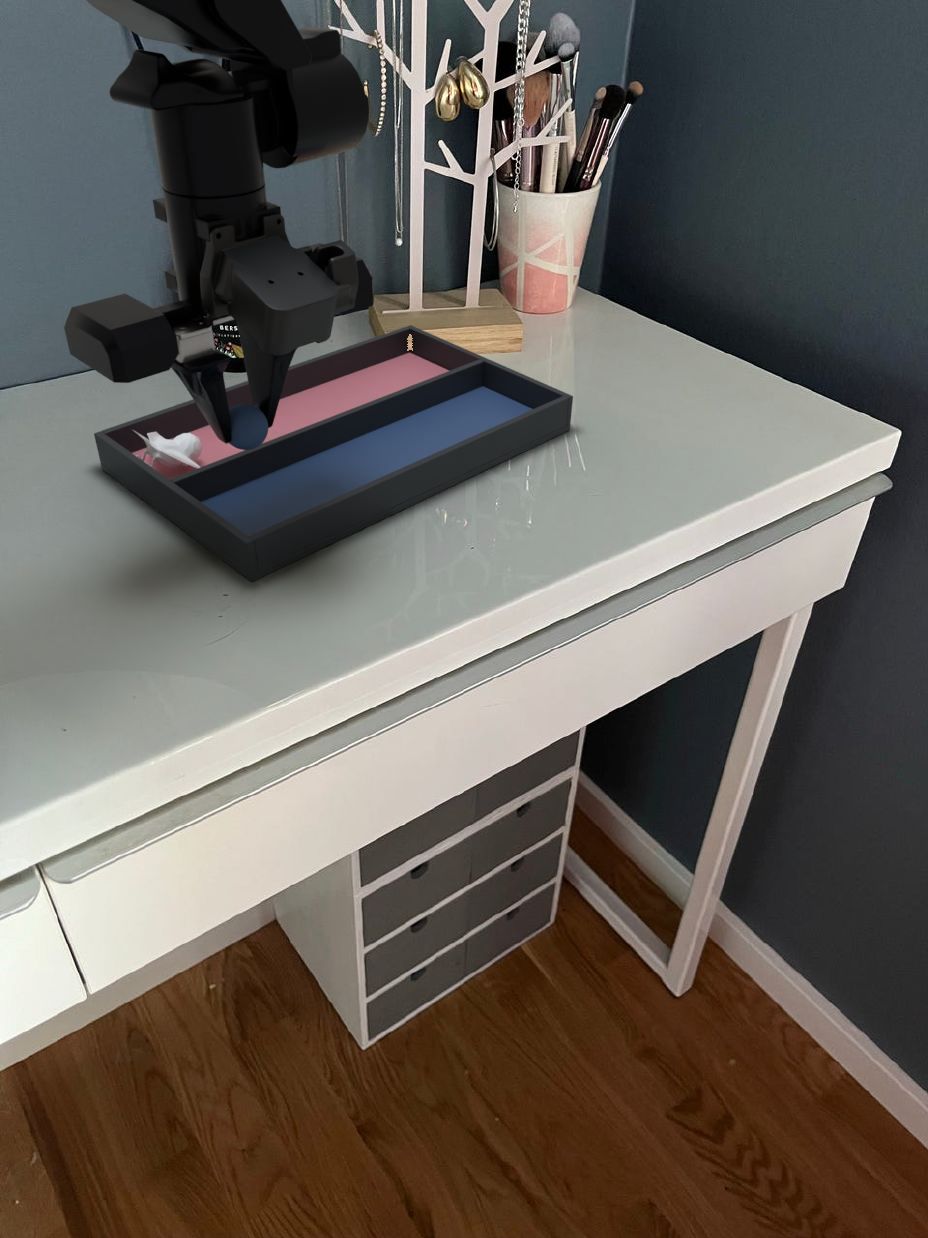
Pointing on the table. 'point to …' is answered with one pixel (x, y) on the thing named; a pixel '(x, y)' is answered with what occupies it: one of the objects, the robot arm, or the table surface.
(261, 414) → the slate ball
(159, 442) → the white bird figurine
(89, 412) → the table surface
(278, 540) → the tray
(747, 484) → the table surface
